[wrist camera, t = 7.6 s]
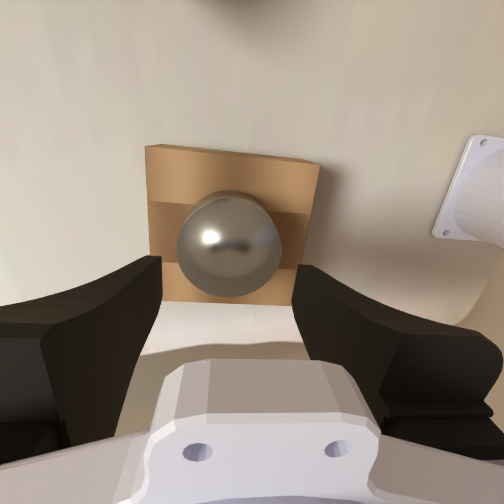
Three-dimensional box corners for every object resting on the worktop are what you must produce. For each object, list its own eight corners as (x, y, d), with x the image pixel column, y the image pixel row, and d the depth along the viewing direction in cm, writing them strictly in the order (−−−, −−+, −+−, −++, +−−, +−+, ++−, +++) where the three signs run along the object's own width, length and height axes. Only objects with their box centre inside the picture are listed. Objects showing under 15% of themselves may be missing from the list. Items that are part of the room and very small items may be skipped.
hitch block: (302, 159, 19) (320, 164, 16) (282, 279, 23) (292, 306, 19) (161, 144, 18) (144, 146, 14) (164, 273, 22) (152, 300, 18)
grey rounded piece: (272, 187, 19) (292, 210, 13) (258, 256, 22) (270, 302, 16) (195, 174, 19) (180, 192, 13) (188, 247, 21) (173, 292, 15)
